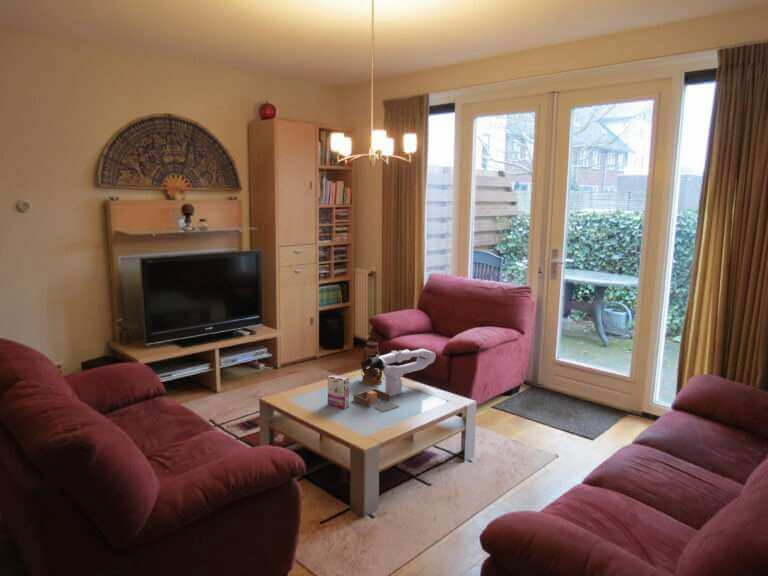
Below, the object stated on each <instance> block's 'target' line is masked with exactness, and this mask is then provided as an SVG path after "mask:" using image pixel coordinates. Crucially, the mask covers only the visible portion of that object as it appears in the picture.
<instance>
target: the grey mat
mask: <svg viewBox="0 0 768 576" xmlns="http://www.w3.org/2000/svg"><path fill="white" fill-rule="evenodd" d="M399 407H400V405H397V404H396V403H393V402H391V401H386V402H384V403H382V404H378V405H374V406H373V407H372V408H373V409H375V410H376V411H380V412H382V413H385V412H388V411H391V410H395V409H398V408H399Z"/></svg>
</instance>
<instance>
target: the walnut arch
mask: <svg viewBox="0 0 768 576" xmlns="http://www.w3.org/2000/svg"><path fill="white" fill-rule="evenodd" d="M369 391H374V392H377V398H380V399H382V398H383V400H385V401H386V402H391V396H390V395H389V394H387V393H384V392H382V391H383V390H380V389H377V388H372V389H368V390H364V391H360V392H359V393H355V394H353V395H352V396H353V398H352V399H353V402H356V403H357V404H360V405H362V406H364V407H365V408H368V409H369V408H370V407H371V402H370V401H368V400H367V392H369Z"/></svg>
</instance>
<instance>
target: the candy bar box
mask: <svg viewBox="0 0 768 576" xmlns="http://www.w3.org/2000/svg"><path fill="white" fill-rule="evenodd" d="M327 405H328V406H330V407H335V408H339V409H344V410H345V409H347V408H348V407H349V406H350V377H347V376H342V375H337V374H330V375H328V376H327Z"/></svg>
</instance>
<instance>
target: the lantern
mask: <svg viewBox="0 0 768 576" xmlns="http://www.w3.org/2000/svg"><path fill="white" fill-rule="evenodd" d="M370 337H374V335H373V334H372V335H371V336H370ZM378 345H379V343H378V342H375V341H367V342H366V346H365V347H364V349H363V351H362V360H361V362H363V361H364V360H366V359H367V357H369V356H370V357H371V358H374V357H376V355H379V356H382V354H381V352H380V350H379V346H378ZM360 370H361V371H360V373H361V376H362V379H361V381H360V383H361V384H362V385H365V386H368V385H369V386H368V387H376V386H375V385H377V386H380V385H382V384H381V383H383V381H382V377H383V368H382V369H379V368H370V366H361V365H360ZM379 384H380V385H379Z"/></svg>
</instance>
